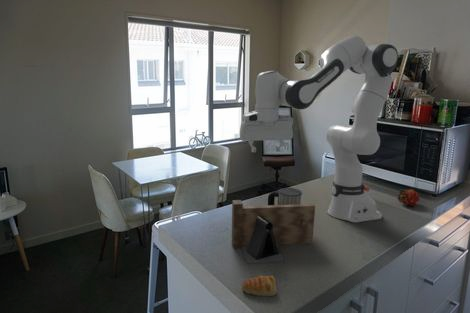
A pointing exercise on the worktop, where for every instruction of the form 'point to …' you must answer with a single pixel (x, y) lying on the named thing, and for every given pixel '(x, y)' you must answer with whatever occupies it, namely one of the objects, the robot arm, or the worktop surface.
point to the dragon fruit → (408, 197)
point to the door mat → (268, 259)
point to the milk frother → (285, 196)
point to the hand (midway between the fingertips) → (265, 151)
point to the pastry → (260, 286)
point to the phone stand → (263, 240)
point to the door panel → (273, 222)
